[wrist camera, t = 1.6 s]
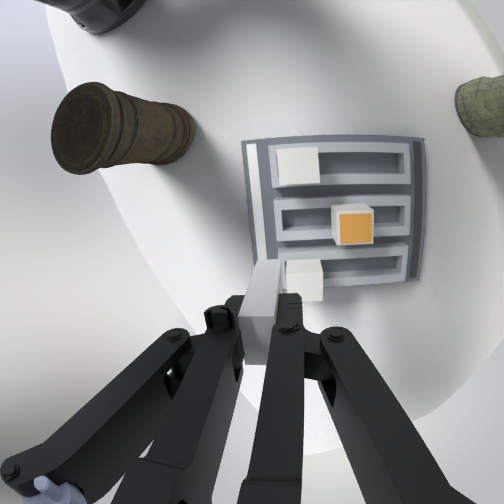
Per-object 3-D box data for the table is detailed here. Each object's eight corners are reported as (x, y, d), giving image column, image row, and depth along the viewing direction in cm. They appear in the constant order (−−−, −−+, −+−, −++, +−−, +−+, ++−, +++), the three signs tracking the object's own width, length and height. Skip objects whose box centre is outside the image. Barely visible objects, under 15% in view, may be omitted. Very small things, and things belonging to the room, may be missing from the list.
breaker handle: (327, 200, 32) (336, 211, 26) (358, 200, 32) (374, 210, 25) (328, 229, 33) (337, 246, 27) (358, 227, 33) (373, 244, 26)
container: (207, 126, 33) (137, 104, 16) (169, 177, 36) (85, 198, 19) (162, 93, 32) (78, 63, 15) (128, 142, 35) (37, 146, 18)
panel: (243, 142, 33) (229, 137, 25) (417, 138, 29) (450, 136, 21) (258, 283, 40) (249, 316, 32) (414, 274, 36) (438, 302, 28)
